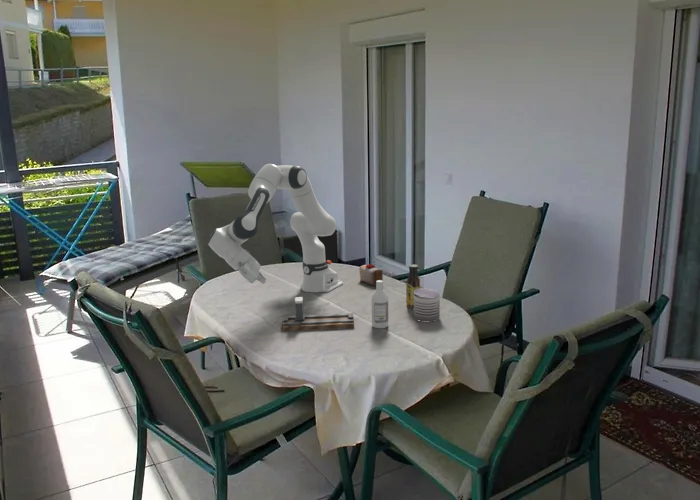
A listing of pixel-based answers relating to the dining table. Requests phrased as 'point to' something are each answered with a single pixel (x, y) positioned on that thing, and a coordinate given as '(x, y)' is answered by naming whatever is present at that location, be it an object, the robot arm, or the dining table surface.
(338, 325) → the fader console
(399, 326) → the dining table surface
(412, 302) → the sauce bottle
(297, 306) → the fader knob
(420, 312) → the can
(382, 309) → the bath foam
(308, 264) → the robot arm
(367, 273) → the food item
